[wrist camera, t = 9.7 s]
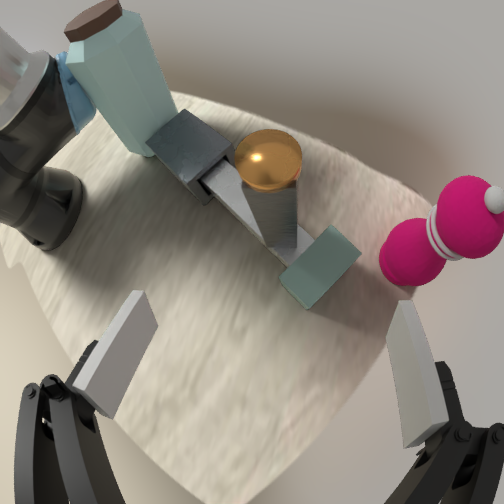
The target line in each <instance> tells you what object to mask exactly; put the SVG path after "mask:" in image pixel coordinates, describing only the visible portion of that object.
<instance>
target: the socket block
mask: <svg viewBox="0 0 504 504" xmlns="http://www.w3.org/2000/svg"><path fill="white" fill-rule="evenodd" d="M361 254H362V253H361V252H360V251H359V250H358V249H357V248H356V247H355V246H354V245H353V244H352V243H351V242H350V241H348V240H347V239H346V238H345V237H344V236H343V235H342V234H341V233H340V232H339V231H338V230H337V229H336V228H335V227H334V226H332V225H330V226H329V227H328V228H327V229H326V230H325V231H324V232H323V233H322V234H321V235H320V236H319V237H318V238H317V239H316V240H315V241H314V242H313V243H312V244H311V245H310V246H309V247H308V248H307V249H306V250H305V251H304V252H303V253H302V254H301V255H300V256H299V257H298V258H297V259H296V260H295V261H294V262H293V263H292V264H291V265H290V266H289V267H288V268H287V269H286V270H285V271H284V272H283V273H282V274H281V275H280V276H279V279H280V281H281V284H282V286H283V287H284V288H285V289H286V290H287V291H288V292H289V293H290V294H291V295H292V296H293V297H294V298H295V299H296V300H297V301H298V302H299V303H300V304H301V305H302V306H303V307H304V308H305V309H306V310H307V309H310V308H311V307H312V306H313V305H314V304H315V303H316V302H317V301H318V300H319V299H320V298H321V297H322V296H323V295H324V293H325V292H326V291H327V290H328V289H329V288H330V287H331V286H332V285H333V284H334V283H335V282H336V281H337V280H338V279H339V278H340V277H341V276H342V275H343V274H344V273H345V271H346V270H347V269H348V268H349V267H350V266H351V265H352V264H353V263H354V262H355V261H356V259H357V258H358V257H359V256H360V255H361Z"/></svg>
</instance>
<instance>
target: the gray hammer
mask: <svg viewBox="0 0 504 504" xmlns="http://www.w3.org/2000/svg"><path fill="white" fill-rule="evenodd" d="M234 161H235V166H236V169H237V170H236V169H235V168H234V167H233V166H232V165H230V164H229V163H228V162H227V161H226V160H224V159H223V158H221V159H220V160H219V161H218V162H216V163H215V164H214V165H213V166H212V167H211V168H210V169H209V170H207V171H206V172H205V173H204V174H203V175H202V176H201V177H200V178H199V180H200V181H201V183H202V184H203V185H204V187H205V188H206V189H207V190H208V191H209V192H210V193H211V194H212V195H213V196H215V197H216V198H217V199H218V200H219V201H220V202H221V203H222V204H223V205H224V206H225V207H226V208H227V209H228V210H229V211H230V212H231V213H232V214H233V215H234V216H235V217H236V218H237V219H238V220H239V221H240V222H241V223H242V224H243V225H244V226H245V227H246V228H247V229H248V230H249V231H250V232H251V233H252V234H253V235H254V236H256V237H257V238H258V239H259V240H260V241H261V242H262V243H263V244H264V245H265V246H266V247H267V248H268V249H269V250H270V251H271V252H272V253H273V254H274V255H275V256H276V257H277V258H278V259H279V260H280V261H281V262H282V263H283V264H284V265H285V266H286V267H287V268H288V267H289V266H290V265H291V264H292V263H293V262H294V261H295V260H296V259H297V258H298V257H299V256H300V255H301V254H302V253H303V252H304V251H305V250H306V249H307V248H308V247H309V246H310V245H311V244H312V243H313V242H314V241H315V240H314V239H313V238H312V237H311V236H310V235H309V234H308V233H307V232H306V231H305V230H304V229H303V228H302V227H300V226H299V225H298V198H297V179H298V177H299V175H300V173H301V169H302V152H301V148H300V146H299V144H298V142H297V141H296V140H295V139H294V138H293V137H292V136H291V135H289V134H288V133H285V132H283V131H280V130H274V129H265V130H260V131H257V132H254V133H252V134H250V135H248V136H247V137H245V138H244V139H243V140H242V141H241V142H240V144H239V145H238V147H237V149H236V151H235V156H234Z"/></svg>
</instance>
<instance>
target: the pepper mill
mask: <svg viewBox="0 0 504 504" xmlns="http://www.w3.org/2000/svg"><path fill="white" fill-rule="evenodd" d="M503 233H504V191H503V190H502V189H501V188H500V187H498V186H491V185H490V184H488V183H487V182H486V181H484V180H483V179H481V178H479V177H475V176H470V175H468V176H461V177H458V178H456V179H454V180H453V181H451V182H450V183H449V184H447V185H446V186H445V188H444V189H443V191H442V192H441V194H440V196H439V199H438V202H437V204H436V205H435V206H434V207H432V209H431V210H430V212H429V214H428V216H427V219H423V218H414V219H409V220H405V221H404V222H402V223H400V224H398V225H397V226H396V227H395V228H393V230H392V231H391V232H390V234H389V236H388V238H387V240H386V242H385V243H384V244H383V246H382V248H381V250H380V255H379V263H380V267H381V270H382V272H383V274H384V275H385V277H386V278H387V279H388V280H389V281H390V282H392V283H394V284H396V285H401V286H406V285H410V286H421V285H424V284H426V283H428V282H430V281H431V280H433V279H435V278H436V276H437V275H438V274H439V273H440V272H441V270H442V269H443V267H444V265H445V263H446V260H451V261H456V260H460V259H462V258H464V257H465V258H470V259H475V258H481V257H484V256H486V255H488V254H489V253H491V252H492V251H493V250H494V249H495V248H496V247H497V246H498V244H499V243H500V241H501V239H502V237H503Z"/></svg>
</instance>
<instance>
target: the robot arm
mask: <svg viewBox="0 0 504 504" xmlns="http://www.w3.org/2000/svg"><path fill="white" fill-rule="evenodd" d="M67 54H68V53H67V52H62V53H60V54H58V55H56V57H55V58H52V57H51V56H50V55H49V54H48V53H47V52H46V51H44V50H41V51H37V52H33V53H28V52H27V51H26V50H25V49H24V48H23V47H21V46H20V45H19V44H18V43H17V42H16V41H15V40H14V39H13V38H12V37H11V36H10V35H8V34H7V33H6V32H5V31H4V30H3V29H2V28H1V27H0V222H1V223H3V224H6V225H9V226H11V227H13V228H15V229H17V230H18V231H19V232H20V233H21V234H22V235H23V236H24V237H25V238H26V239H27V240H28V241H29V242H30V243H31V244H32V245H34V246H35V247H37V248H40V249H43V250H52V249H54V248H56V247H57V246H59V245H60V244H61V243H62V242H63V241H64V240H65V239H66V237H67V236H68V235H69V233H70V232H71V230H72V228H73V226H74V224H75V222H76V220H77V217H78V214H79V211H80V207H81V202H82V187H81V183H80V181H79V179H78V178H77V177H76V176H75V175H73V174H72V173H70V172H69V171H66V170H62V169H57V168H52V167H46V166H44V165H45V164H46V163H47V162H48V161H49V160H50V159H51V158H52V157H53V156H54V155H55V154H56V153H57V152H58V151H59V150H61V149H62V148H63V147H64V146H65V145H66V144H67V143H68V142H69V141H70V140H71V139H72V138H74V137H75V136H76V135H78V134H79V133H80V131H81V130H82V129H83V128H84V127H85V126H86V125H87V124H88V123H89V122H90V121H91V120H92V119H93V118H94V116H95V114H96V106H95V105H94V103H93V102H92V101H91V99H90V98H89V97H88V95H87V94H86V92H85V91H84V90H83V88H82V87H81V85H80V84H79V83H78V81H77V80H76V78H75V77H74V76H73V74H72V73H71V71H70V70H69V68H68V67H67V66H66V64H65V62H66V58H67ZM157 328H158V324H157V322H156V319H155V317H154V314H153V312H152V309H151V307H150V304H149V302H148V299H147V297H146V294H145V291H140V290H133V291H132V292H131V293H130V295H129V296H128V298H127V299H126V301H125V302H124V304H123V305H122V306H121V308H120V309H119V311H118V312H117V314H116V315H115V317H114V318H113V320H112V321H111V323H110V324H109V326H108V328H107V329H106V331H105V332H104V334H103V335H102V337H101V338H100V340H99V341H97V340H94V341H93V342H92V343H91V344H90V345H88V346H87V348H86V350H85V351H84V353H83V356H81V357H80V359H79V362H77V364H76V366H75V367H74V369H73V371H72V372H71V374H70V376H69V377H68V379H67V381H66V382H65V384H64V383H63V382H62V381H61V380H60V378H59V377H58V376H57V375H54V374H51V375H48V376H46V377H45V378H44V379H43V380H42V382H41V384H40V387H39V386H38V385H37V384H36V383H30V384H28V385H27V386H26V387H25V388H24V390H23V393H22V399H21V404H20V410H19V417H18V425H17V433H16V443H15V460H14V492H15V504H69V501H70V504H126V503H125V501H124V499H123V496H122V494H121V492H120V489H119V487H118V484H117V482H116V479H115V477H114V474H113V471H112V469H111V466H110V463H109V460H108V457H107V454H106V451H105V448H104V445H103V441H102V437H101V434H100V430H99V427H98V423H97V419H96V416H95V414H94V412H95V409H96V410H97V411H98V412H99V413H100V414H101V415H103V416H105V417H108V418H111V419H113V418H114V416H115V414H116V412H117V410H118V407H119V405H120V403H121V401H122V399H123V397H124V394H125V392H126V390H127V388H128V386H129V384H130V382H131V380H132V378H133V375H134V373H135V371H136V369H137V367H138V365H139V363H140V361H141V359H142V357H143V355H144V353H145V351H146V349H147V347H148V345H149V343H150V341H151V339H152V337H153V335H154V333H155V331H156V330H157ZM385 338H386V342H387V347H388V351H389V356H390V361H391V365H392V370H393V375H394V381H395V387H396V392H397V399H398V405H399V412H400V419H401V426H402V436H403V446H404V448H409V447H414V446H419V445H420V444H422V443H423V442H424V441H425V447H424V448H423V449H421V450H420V451H419V452H418V453H417V454H416V455H417V456H418V455H419V454H420V455H419V457H418V458H417V460H416V462H415V463H414V465H413V466H412V467H411V469H410V470H409V472H408V473H407V475H406V476H405V477H404V479H403V480H402V482H401V483H400V484H399V486H398V487H397V488H396V489H395V491H394V492H393V493H392V494H391V496H390V497H389V498H388V499H387V501H386V502H385V503H384V504H438V503H439V502H440V500H441V499H442V500H441V503H440V504H493V501H494V498H495V494H496V491H497V488H498V484H499V480H500V476H501V472H502V468H503V463H504V424H502V423H495V424H494V425H492V426H491V427H490V428H476V427H472V425H471V424H470V423H469V422H467V421H465V419H464V417H463V413H462V410H461V405H460V402H459V398H458V394H457V390H456V389H455V383H454V381H453V377H452V374H451V370H450V369H449V367H448V366H447V364H446V363H445V362H444V361H441V362H434V360H433V356H432V353H431V350H430V347H429V344H428V341H427V338H426V335H425V333H424V330H423V327H422V325H421V322H420V319H419V316H418V314H417V311H416V309H415V306H414V304H413V301H412V300H401V301H399V302H398V305H397V308H396V310H395V313H394V316H393V319H392V321H391V324H390V327H389V329H388V332H387V335H386V337H385ZM42 417H43V418H44V419H45V421H44V423H43V422H42ZM442 497H443V498H442Z"/></svg>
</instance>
